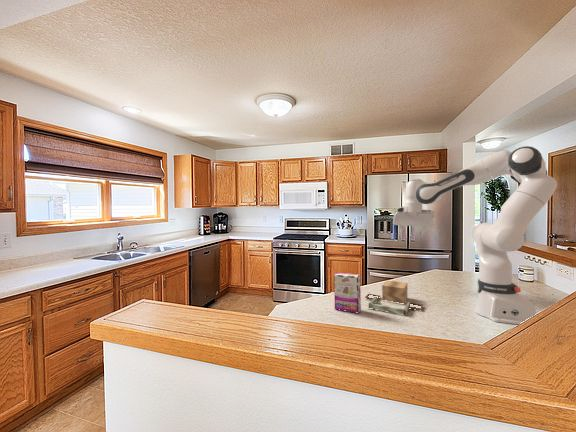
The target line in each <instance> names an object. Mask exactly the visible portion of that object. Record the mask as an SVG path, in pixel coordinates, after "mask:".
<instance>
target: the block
mask: <svg viewBox="0 0 576 432" xmlns="http://www.w3.org/2000/svg"><path fill="white" fill-rule="evenodd" d="M381 289H382V290H381V291H382V297H381V298H382V300H387V301H393V302H399V303H406V302H407V300H408V298H407V297H408V291H409V289H408V282H402V281H396V280H395V281H394V280H389V279H388V280H386V281H385V282H384V283H383V284H382V288H381ZM406 299H407V300H406ZM405 301H406V302H405Z"/></svg>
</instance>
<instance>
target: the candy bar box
mask: <svg viewBox="0 0 576 432" xmlns="http://www.w3.org/2000/svg"><path fill="white" fill-rule="evenodd" d="M333 285H334V287H333V289H334V310H335V309H340V310H346V311H352V312H351V313H353V312H358V313H357V314H359V313H360V312H361V309H362V304H361V303H362V295H361V293H362V292H361V291H362V290H361V274H358V273H357V274H355V273H347V272H346V273H345V272H336V273H335V274H334V275H333ZM340 310H339V311H340ZM346 311H345V312H346ZM359 311H360V312H359Z"/></svg>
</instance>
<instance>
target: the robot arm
mask: <svg viewBox="0 0 576 432" xmlns="http://www.w3.org/2000/svg"><path fill="white" fill-rule="evenodd" d="M505 175H509V176H510V178H511V180H513V181H515V182H516V183H517V184H518V185H519V186H518V187H517V188H516V189H515V190H514V192H512V194H511V195H510V196H509V197H508V198H507V199H506V200H505V202H504V203H503V204H502V205H501V207H500V213H499V215H498V216H497V219H496V220H495V221H494V222H489V221H488V222H482V223H479V224H477V225H475V226H474V227H473V229H472V233H471V236H472V238H473V240H474V243H475V248H476V252H477V257H478V276H479V277H478V280H477V285H476V286H477V293H478V294H477V299H476V304H475V306H474V309H473V311H474V312H475V313H476V314H477V315H480V316H482V317H483V318H487V319H489V320H490V321H493V322H495V323H503V324H512V325H519V324H520V323H521V322H523V321H525V320H526V319H528V318H530V317H532V316H534V315H535V314H537V311H536V308H535V306H534V304H533V303H532V302H531V301H530V300H528V299H526V298H525V297H524V296H523V295H521V294H520V293H521V291H522V288H521V287H519V286H518V285H517V284H516V283H514V282H513V281H512V278H513V275H512V274H513V271H512V270H513V266H512V262H511V261H510V259H509V256H508V253H507V252H509V253H510V252H516V251H518V250H519V249H520V248H522V247H523V245H524V242H525V236H524V234H525V232H526V230H527V228H528V226H529V225H530V223H531V221H533V219H534V218H535V217H536V215H537V214H538V213H539V212H540V211H541V210H542V209H543V208H544V207H545V205H546V204H547V203H548V201H549V200H550V199H551V198H552V196H553V194H554V193H555V191H556V190H557V188H558V182H557V180H556V179H555V178H554V177H552V176H551V175H548V170H547V168H546V161H545V159H544V158H543V155H542V153H541V151H539V150H538V149H537V148H536V147H534V146H528V145H526V146H525V145H524V146H519V147H518V148H516V149H514V150H513V151H512V152H511V151H509V150H500V151H497V152H494V153H491V154H488V155H485V156H484V157H482V158H480V159H478V160H475V161H474V162H472V163H471V164H469V165H468V166H466V167H465V168H463V169H461V170H459V171H457V172H456V173H454V174H452V175H449V176H448V177H445V178H444V179H440V180H438V181H437V182H433V183H427V182H425V181H424V180H422V179H420V178H419V179H417V178H416V179H412V180H409V181H408V182H406V186H405V190H404V191H405V193H404V195H405V196H404V197H405V202H404V206H400V207H398V208H396V209H395V213H394V215H393V219H392V224H393V225H394V226H399V229H400V231H401V232H400V233H401V234H403V235H405V231H406V230H404V229H403V227H404V226H406V227H407V226H408V227H419V228H420V227H421V228H422V231H419V236H423V235H424V232H425V231H426V229H427V228H433V227H434V218H435V212H434V210H431V209H423V205H429V204H431V205H433V204H437V203H439V202H440V201H442V199H443V196H444V194H445V193H448V192H450V191H452V190H454V189H457V188H460V187H463V186H464V187H465V186H475V185H476V186H477V185H481V184H485V183H487V182H490V181H493V180H494V179H496V178H499V177H501V176H505Z"/></svg>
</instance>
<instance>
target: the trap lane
mask: <svg viewBox="0 0 576 432" xmlns="http://www.w3.org/2000/svg"><path fill="white" fill-rule="evenodd" d="M369 295H373V296H378V298H377V297H374V298H369V297H368V296H369ZM379 297H380V298H381V294H380V295H379V294H372V293H368V294H366V296H365V297H364V299H365V298H367V299H372V300H370V302H369V303H368V309H369V308H373V309H378V310H383V311H388V312H393V313H398V314H403V315H406V314H407V315H408V313H409V311H408V310H410V309H409V308H411V309H416V310H423V308H422V307H424V304H421V303H415V302H410V301H409V302H408V301H406V302H407V303H406V304H405V305H404V308H399V307H394V306H388V305H382V304H377V303H376V304H375V302H376V301H377V300H378V299H379ZM379 300H380V299H379ZM379 300H378V301H379ZM378 301H377V302H378ZM410 304H413V305H418V306H421V308H416V307H410ZM416 310H415V311H416ZM407 312H408V313H407ZM398 314H397V315H398ZM403 315H402V316H403ZM407 315H406V316H407Z"/></svg>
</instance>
